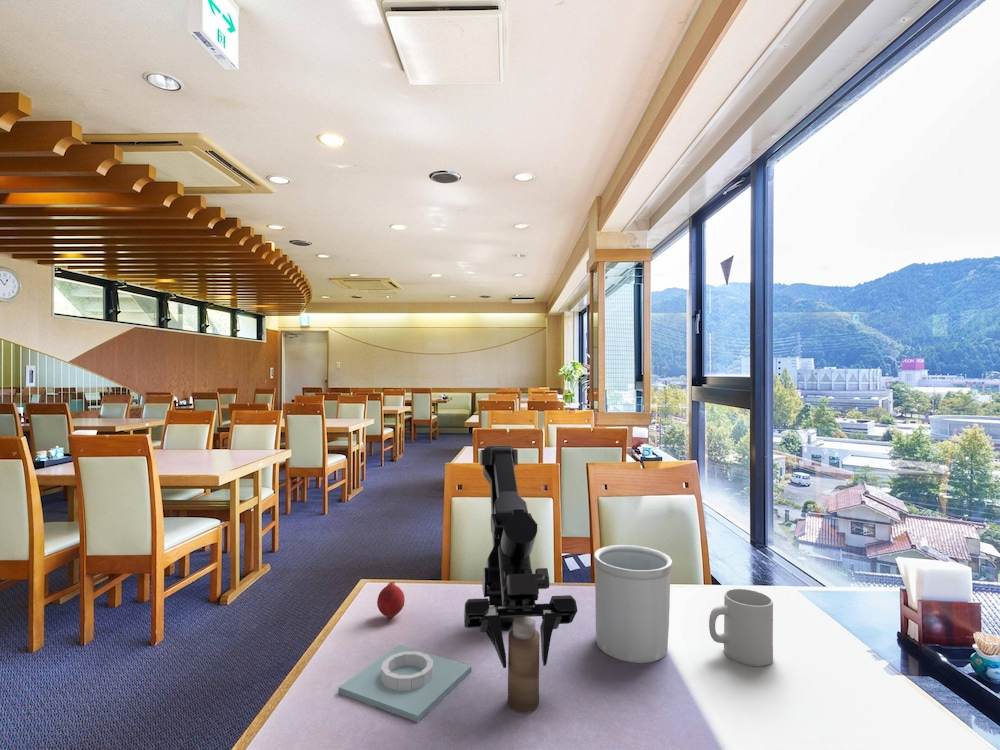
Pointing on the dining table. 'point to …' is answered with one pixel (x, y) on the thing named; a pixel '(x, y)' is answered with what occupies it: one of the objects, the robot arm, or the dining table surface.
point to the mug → (745, 627)
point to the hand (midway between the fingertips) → (525, 666)
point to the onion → (390, 600)
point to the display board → (405, 698)
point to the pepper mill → (523, 665)
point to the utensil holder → (632, 602)
